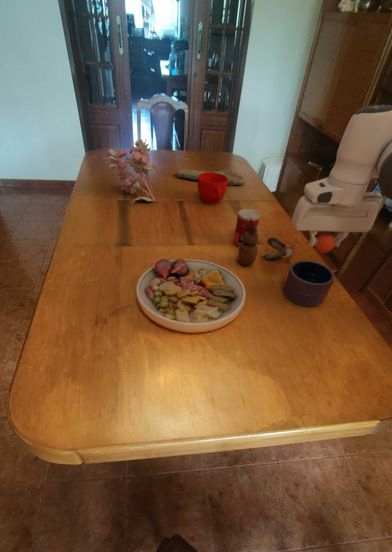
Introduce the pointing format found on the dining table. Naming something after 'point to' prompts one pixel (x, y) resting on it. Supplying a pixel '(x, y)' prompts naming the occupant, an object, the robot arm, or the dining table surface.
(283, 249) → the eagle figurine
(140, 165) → the flower
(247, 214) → the canned food
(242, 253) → the wooden figurine
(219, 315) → the bowl
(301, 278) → the pot
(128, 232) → the dining table surface
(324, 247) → the ball
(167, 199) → the dining table surface
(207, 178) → the ceramic cup
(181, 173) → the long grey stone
